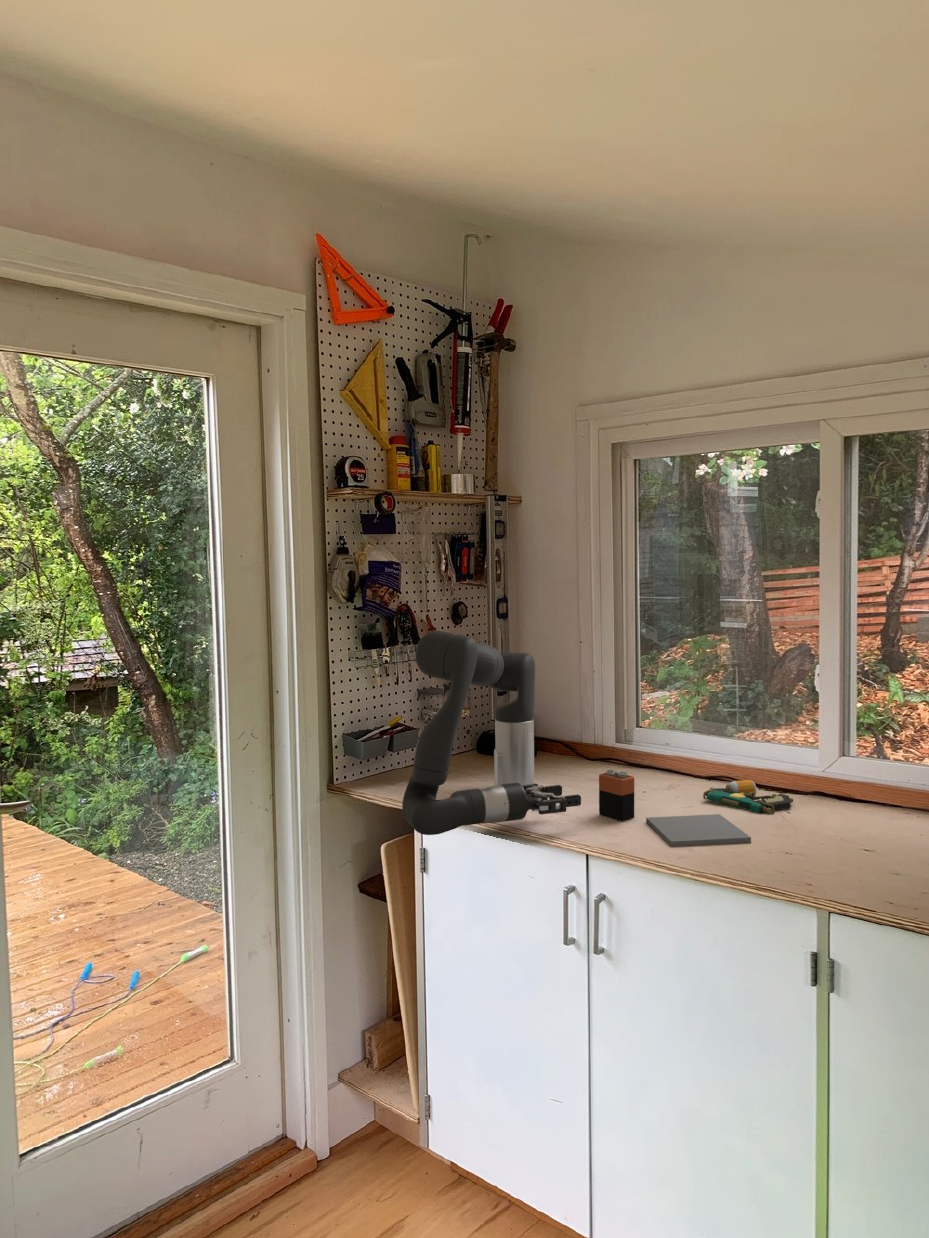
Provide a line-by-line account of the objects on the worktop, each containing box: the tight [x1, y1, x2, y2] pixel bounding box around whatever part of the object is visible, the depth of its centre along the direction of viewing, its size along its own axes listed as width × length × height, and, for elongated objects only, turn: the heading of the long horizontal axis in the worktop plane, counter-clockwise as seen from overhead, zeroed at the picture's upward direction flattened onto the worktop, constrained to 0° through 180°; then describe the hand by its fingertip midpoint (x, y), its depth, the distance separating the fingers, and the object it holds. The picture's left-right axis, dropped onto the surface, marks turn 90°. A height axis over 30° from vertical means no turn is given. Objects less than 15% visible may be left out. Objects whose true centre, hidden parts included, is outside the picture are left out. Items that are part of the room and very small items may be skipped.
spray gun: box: [702, 779, 794, 814], centre depth 205 cm, size 4×17×15 cm
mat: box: [645, 813, 752, 847], centre depth 186 cm, size 16×16×1 cm
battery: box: [598, 769, 635, 822], centre depth 197 cm, size 4×7×10 cm, turn 38°
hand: (570, 794), depth 193 cm, fingers open, 8 cm apart
